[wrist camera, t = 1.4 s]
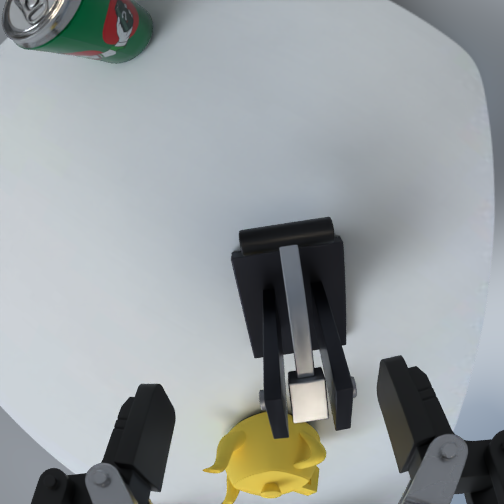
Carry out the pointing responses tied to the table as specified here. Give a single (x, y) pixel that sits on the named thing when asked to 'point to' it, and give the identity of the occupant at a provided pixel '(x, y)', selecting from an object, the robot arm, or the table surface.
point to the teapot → (269, 459)
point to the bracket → (279, 331)
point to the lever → (296, 306)
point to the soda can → (79, 27)
